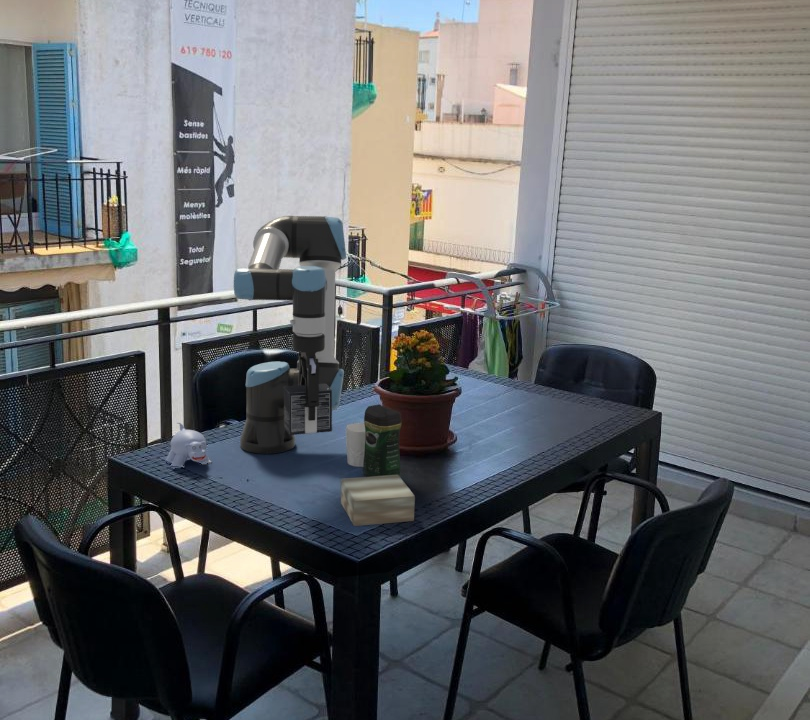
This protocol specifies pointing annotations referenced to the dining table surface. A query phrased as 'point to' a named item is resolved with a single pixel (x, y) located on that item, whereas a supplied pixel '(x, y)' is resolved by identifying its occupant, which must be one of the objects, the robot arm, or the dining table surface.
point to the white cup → (355, 444)
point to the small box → (296, 411)
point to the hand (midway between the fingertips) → (308, 427)
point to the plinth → (377, 500)
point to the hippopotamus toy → (187, 447)
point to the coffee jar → (381, 441)
